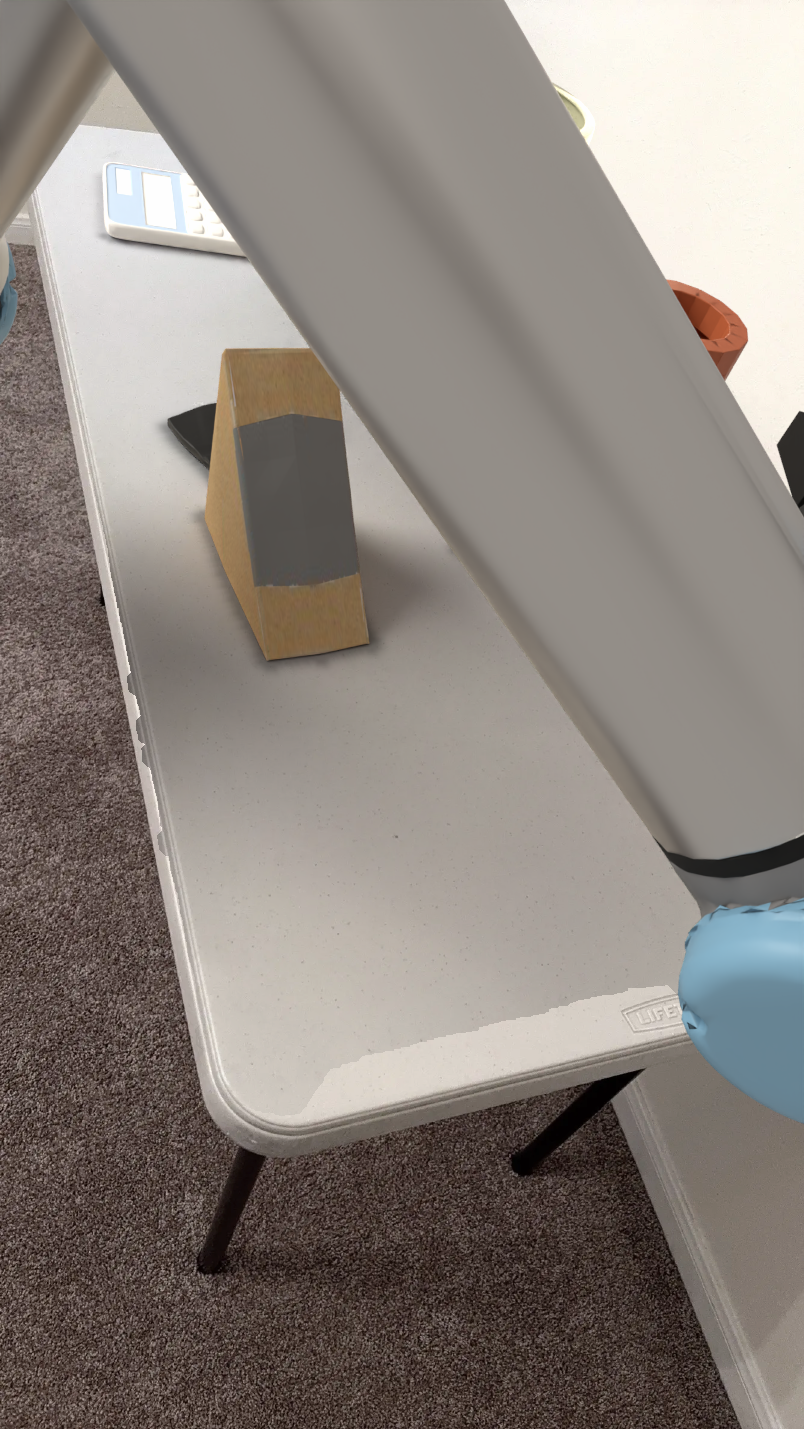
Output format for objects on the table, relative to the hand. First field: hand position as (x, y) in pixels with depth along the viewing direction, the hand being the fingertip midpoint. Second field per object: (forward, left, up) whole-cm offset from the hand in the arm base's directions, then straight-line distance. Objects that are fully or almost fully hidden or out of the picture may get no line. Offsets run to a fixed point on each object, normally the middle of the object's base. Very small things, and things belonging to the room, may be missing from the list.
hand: (696, 402), depth 63 cm
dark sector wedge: (-32, -2, -22) cm, 39 cm away
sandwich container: (-19, -13, -22) cm, 32 cm away
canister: (-4, +8, -11) cm, 14 cm away
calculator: (-59, +23, -22) cm, 67 cm away
